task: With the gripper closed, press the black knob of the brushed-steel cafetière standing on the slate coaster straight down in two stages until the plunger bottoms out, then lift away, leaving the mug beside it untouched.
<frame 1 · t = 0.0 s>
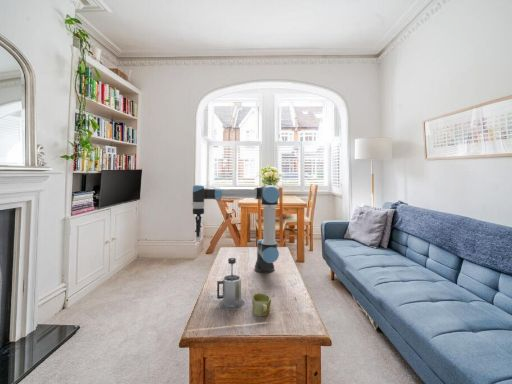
hand: (198, 239, 169), 28 cm above the table, fingers open, 13 cm apart
plunger: (231, 271, 136), point 18 cm above the table, slide at 0.0 cm
coaster: (231, 304, 137), on the table
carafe: (231, 303, 137), resting on coaster
mug: (261, 314, 127), on the table
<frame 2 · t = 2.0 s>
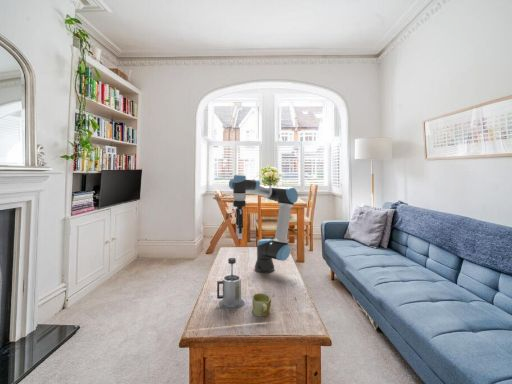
hand: (239, 237, 154), 33 cm above the table, fingers open, 8 cm apart
nothing on the table moved.
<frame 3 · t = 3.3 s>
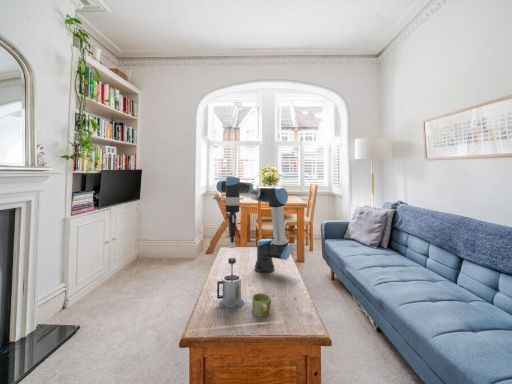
hand: (231, 247, 136), 31 cm above the table, fingers closed
nothing on the table moved.
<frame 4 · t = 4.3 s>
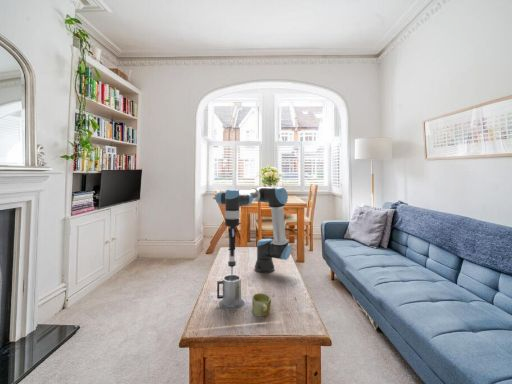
hand: (231, 261, 136), 24 cm above the table, fingers closed
plunger: (231, 273, 137), point 17 cm above the table, slide at 1.5 cm, touching gripper
everything else where it was.
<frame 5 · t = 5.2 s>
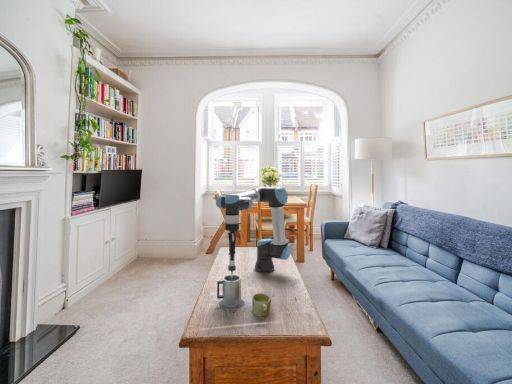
hand: (231, 265, 136), 21 cm above the table, fingers closed
plunger: (231, 278, 137), point 14 cm above the table, slide at 3.9 cm, touching gripper
everything else where it was.
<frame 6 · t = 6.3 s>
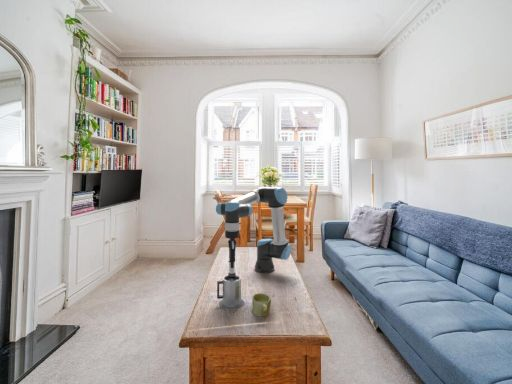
hand: (231, 273, 136), 17 cm above the table, fingers closed
plunger: (231, 285, 137), point 10 cm above the table, slide at 8.0 cm, touching gripper
everything else where it was.
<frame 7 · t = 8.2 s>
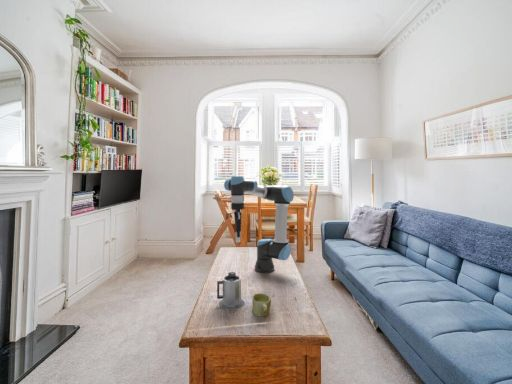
hand: (238, 242, 148), 31 cm above the table, fingers closed
plunger: (231, 285, 137), point 10 cm above the table, slide at 8.0 cm
everything else where it was.
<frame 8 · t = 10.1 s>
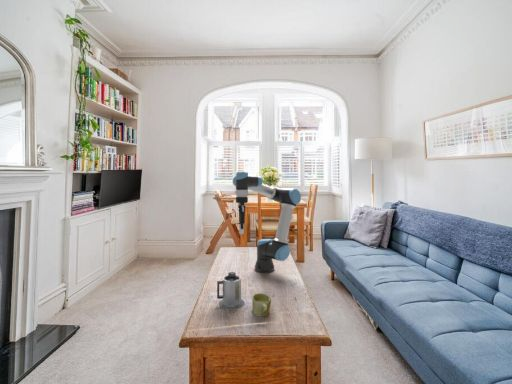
hand: (241, 233, 158), 34 cm above the table, fingers closed
nothing on the table moved.
at the end: plunger slide at 8.0 cm; the gripper is holding nothing; mug moved 0.3 cm from its start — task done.
